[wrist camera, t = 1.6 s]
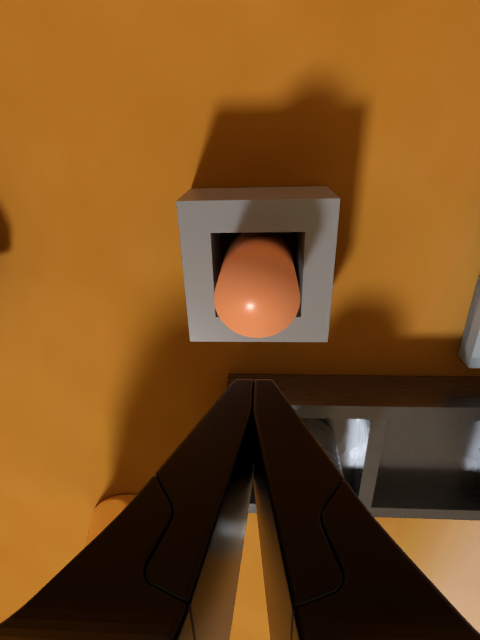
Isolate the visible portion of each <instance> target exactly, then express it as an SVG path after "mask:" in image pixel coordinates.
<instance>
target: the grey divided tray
mask: <svg viewBox="0 0 480 640" xmlns="http://www.w3.org/2000/svg"><path fill="white" fill-rule="evenodd" d="M236 379H252V380H253V381H255V380H256V379H271V380H273V381H274V382H275V384H276V385H277V387H278V388H279V389H280V391H281V392H282V393H283V395H284V396H285V398H286V399H287V400H288V402H289V403H290V404H291V406H292V407H293V408H294V410H295V411H296V413H297V414H298V415H299V417H300V418H316V419H318V420H320V421H322V422H324V423H325V424H326V425H327V426H329V427H330V429H331V430H332V432H333V434H334V437H335V441H336V445H337V450H338V454H339V459H340V463H341V467H342V472H343V476H344V479H345V481H347V482H348V484H349V485H350V487H351V488H352V489H353V491H354V492H355V493H356V495H357V496H358V498H359V499H360V500H361V501H362V503H363V504H364V505H365V507H366V508H367V509H368V510H369V512H370V513H371V514H372V516H373V517H392V518H423V519H454V520H480V377H456V376H359V375H263V374H229V376H228V383H227V388H228V387H229V386H230V385H231V384H232V382H233V381H234V380H236ZM248 513H257V510H256V501H255V491H254V477H253V480H252V488H251V496H250V502H249V509H248Z"/></svg>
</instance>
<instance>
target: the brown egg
mask: <svg viewBox="0 0 480 640" xmlns="http://www.w3.org/2000/svg"><path fill="white" fill-rule="evenodd" d="M214 304H215V309H216V312H217V314H218V316H219V318H220V319H221V321H222V322H223V323H224V324H225V325H226V326H227V327H228V328H229V329H231V330H232V331H234V332H236V333H238V334H240V335H243V336H246V337H251V338H263V337H269V336H272V335H275V334H277V333H279V332H281V331H282V330H284V329H285V328H287V327H288V326H289V325H290V324H291V322H292V321H293V320H294V318H295V317H296V315H297V312H298V310H299V306H300V291H299V286H298V281H297V277H296V272H295V268H294V263H293V258H292V254H291V251H290V249H289V247H288V245H287V244H286V242H285V241H284V240H283V239H282V238H281V237H280V236H278V235H277V234H275V233H273V232H249V233H242V234H240V235H239V236H237V237H236V238H235V239H234V240H233V241H232V242H231V243H230V245H229V247H228V249H227V251H226V254H225V257H224V261H223V264H222V267H221V271H220V274H219V278H218V281H217V284H216V288H215V292H214Z"/></svg>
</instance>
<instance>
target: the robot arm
mask: <svg viewBox="0 0 480 640" xmlns="http://www.w3.org/2000/svg"><path fill="white" fill-rule="evenodd" d="M253 477H254V491H255V501H256V510H257V519H258V528H259V537H260V547H261V556H262V565H263V574H264V584H265V593H266V602H267V611H268V621H269V630H270V639H271V640H480V633H479V632H478V631H476V630H475V629H474V628H473V627H472V625H471V624H470V623H469V622H468V621H467V620H466V619H465V618H464V617H463V616H462V615H461V614H460V613H459V612H458V611H457V609H456V608H455V607H454V606H453V605H452V604H451V603H450V602H449V601H448V600H447V599H446V597H445V596H444V595H443V594H442V593H441V592H440V591H439V590H438V589H437V588H436V586H435V585H434V584H433V583H432V582H431V581H430V580H429V579H428V578H427V577H426V575H425V574H424V573H423V572H422V571H421V570H420V569H419V568H418V567H417V566H416V565H415V563H414V562H413V561H412V560H411V559H410V558H409V557H408V556H407V555H406V554H405V552H404V551H403V550H402V549H401V548H400V547H399V546H398V545H397V544H396V542H395V541H394V540H393V539H392V538H391V537H390V536H389V534H388V533H387V532H386V531H385V530H384V529H383V528H382V526H381V525H380V524H379V523H378V522H377V521H376V519H375V518H374V517H373V516H372V514H371V513H370V512H369V510H368V509H367V508H366V507H365V505H364V504H363V503H362V501H361V500H360V499H359V498H358V496H357V495H356V493H355V492H354V491H353V489H352V488H351V487H350V485H349V484H348V482H347V481H345V479H344V477H343V476H342V474H341V473H340V472H339V470H338V469H337V468H336V466H335V465H334V463H333V462H332V461H331V459H330V458H329V457H328V455H327V454H326V452H325V451H324V450H323V448H322V447H321V446H320V444H319V443H318V441H317V440H316V439H315V437H314V436H313V435H312V433H311V432H310V430H309V429H308V428H307V426H306V425H305V424H304V422H303V421H302V419H301V418H300V417H299V415H298V414H297V413H296V411H295V410H294V408H293V407H292V406H291V404H290V403H289V402H288V400H287V399H286V398H285V396H284V395H283V393H282V392H281V391H280V389H279V388H278V387H277V385H276V384H275V382H274V381H273V380H271V379H256V380H255V381H253V380H252V379H236V380H234V381H233V382H232V384H231V385H230V386H229V387H228V388H227V389H226V391H225V392H224V393H223V394H222V395H221V397H220V398H219V399H218V400H217V401H216V402H215V404H214V405H213V406H212V407H211V408H210V410H209V411H208V412H207V413H206V414H205V415H204V417H203V418H202V419H201V420H200V421H199V422H198V424H197V425H196V426H195V427H194V428H193V430H192V431H191V432H190V433H189V434H188V435H187V437H186V438H185V439H184V440H183V441H182V443H181V444H180V445H179V446H178V447H177V448H176V450H175V451H174V452H173V453H172V454H171V455H170V457H169V458H168V459H167V460H166V461H165V463H164V464H163V465H162V466H161V467H160V468H159V470H158V471H157V472H156V473H155V476H153V477H152V478H151V479H150V480H149V481H148V482H147V483H146V485H145V486H144V487H143V488H142V489H141V490H140V492H139V493H138V494H137V495H136V496H135V497H134V498H133V499H132V500H131V502H130V503H129V504H128V505H127V506H126V507H125V508H124V509H123V510H122V512H121V513H120V514H119V515H118V516H117V517H116V518H115V519H114V520H113V521H112V522H111V523H110V524H109V525H108V526H107V527H106V528H105V529H104V530H103V531H102V532H101V533H100V534H99V535H98V536H96V537H95V538H94V539H93V540H92V541H91V542H90V543H89V544H88V545H87V546H86V547H85V548H84V549H83V550H82V551H81V552H80V553H79V554H78V555H77V556H76V557H74V558H73V559H72V560H71V561H70V562H69V563H68V564H67V565H66V566H65V567H64V568H63V569H62V570H61V571H60V572H59V573H58V574H57V575H56V576H55V577H54V578H52V579H51V580H50V581H49V582H48V583H47V584H46V585H45V586H44V587H43V588H42V589H41V590H40V591H39V592H38V593H37V594H36V595H35V596H34V597H32V598H31V599H30V600H29V601H28V602H27V603H26V604H25V605H24V606H22V607H21V608H20V609H19V610H17V611H16V612H15V613H14V614H12V615H11V616H10V617H9V618H7V619H6V620H4V621H3V622H2V623H0V640H229V639H230V632H231V625H232V618H233V611H234V605H235V598H236V591H237V584H238V577H239V570H240V564H241V557H242V550H243V543H244V536H245V530H246V523H247V516H248V509H249V502H250V496H251V488H252V480H253Z"/></svg>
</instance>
